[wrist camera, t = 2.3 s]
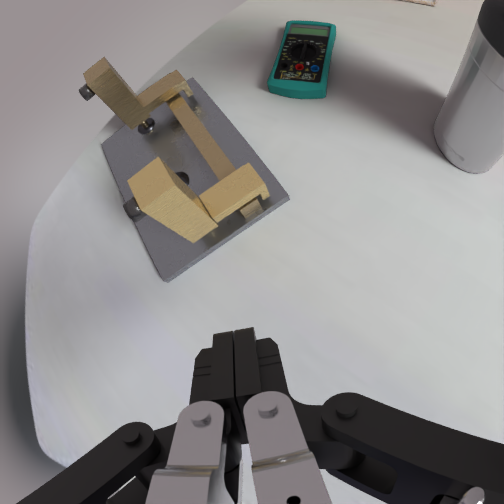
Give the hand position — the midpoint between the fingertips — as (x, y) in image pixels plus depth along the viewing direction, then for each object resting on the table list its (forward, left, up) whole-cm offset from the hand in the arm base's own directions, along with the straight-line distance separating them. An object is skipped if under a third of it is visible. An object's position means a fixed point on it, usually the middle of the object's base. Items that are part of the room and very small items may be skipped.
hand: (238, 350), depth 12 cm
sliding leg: (-1, -13, -18) cm, 23 cm away
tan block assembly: (-1, -23, -19) cm, 30 cm away
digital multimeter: (-22, -27, -21) cm, 41 cm away
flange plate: (0, -23, -20) cm, 30 cm away
